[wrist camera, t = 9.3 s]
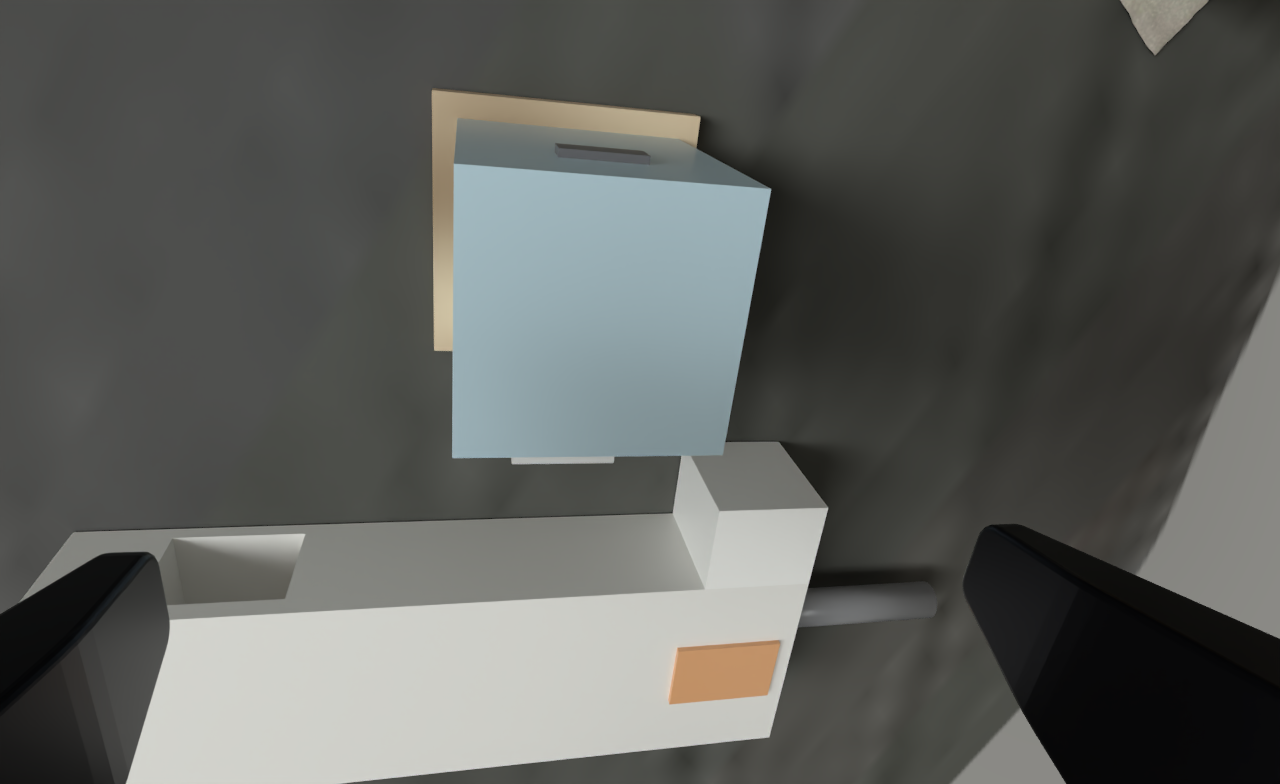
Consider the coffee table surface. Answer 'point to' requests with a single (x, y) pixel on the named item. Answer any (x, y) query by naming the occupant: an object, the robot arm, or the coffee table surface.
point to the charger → (596, 293)
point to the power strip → (486, 632)
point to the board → (519, 112)
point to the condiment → (1160, 18)
